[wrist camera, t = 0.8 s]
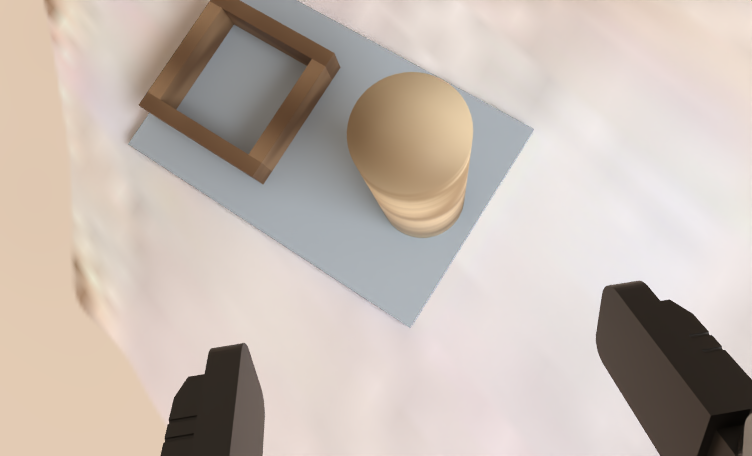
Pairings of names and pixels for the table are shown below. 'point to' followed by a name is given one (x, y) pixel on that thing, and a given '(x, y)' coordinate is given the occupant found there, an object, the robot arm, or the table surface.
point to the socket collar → (198, 53)
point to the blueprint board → (324, 160)
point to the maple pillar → (413, 150)
